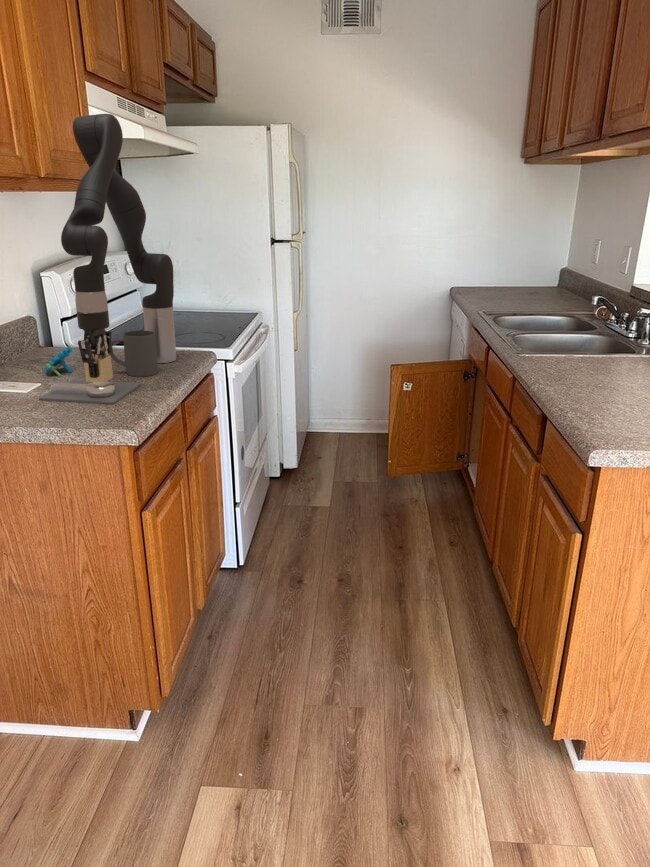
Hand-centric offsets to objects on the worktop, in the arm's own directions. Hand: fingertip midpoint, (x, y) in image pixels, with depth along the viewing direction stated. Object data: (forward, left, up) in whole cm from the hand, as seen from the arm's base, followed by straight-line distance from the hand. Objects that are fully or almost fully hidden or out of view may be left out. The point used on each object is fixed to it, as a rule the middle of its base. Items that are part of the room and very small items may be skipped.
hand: (99, 374), depth 166 cm
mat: (-3, -4, -6) cm, 8 cm away
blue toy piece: (-21, -23, -6) cm, 32 cm away
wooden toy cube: (0, 0, -1) cm, 1 cm away
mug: (-24, -1, -6) cm, 25 cm away
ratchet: (0, -5, -5) cm, 7 cm away
